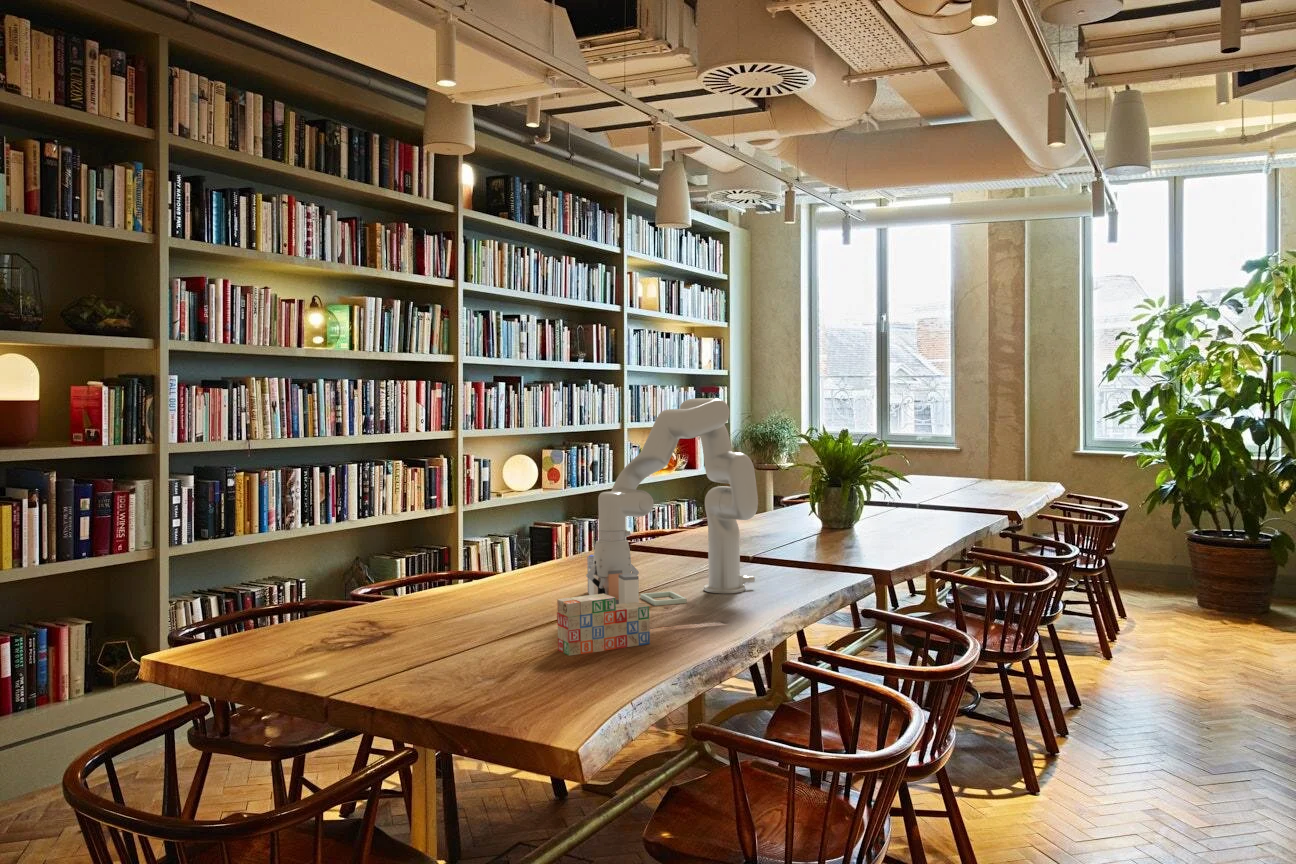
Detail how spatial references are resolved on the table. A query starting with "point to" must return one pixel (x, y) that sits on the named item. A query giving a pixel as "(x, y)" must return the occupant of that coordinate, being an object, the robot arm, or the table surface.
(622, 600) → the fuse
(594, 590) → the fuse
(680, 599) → the tray
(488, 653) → the table surface
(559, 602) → the stack of blocks
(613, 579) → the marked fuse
